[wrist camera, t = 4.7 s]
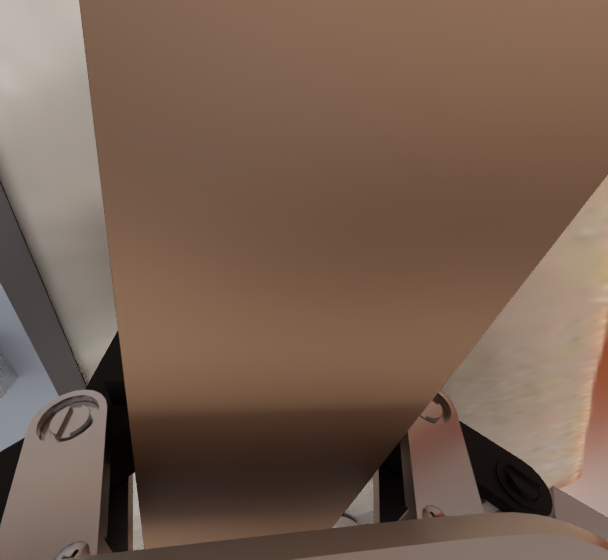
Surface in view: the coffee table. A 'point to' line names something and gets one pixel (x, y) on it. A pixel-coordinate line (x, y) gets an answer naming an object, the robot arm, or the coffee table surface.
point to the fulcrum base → (28, 336)
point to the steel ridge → (6, 374)
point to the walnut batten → (321, 226)
